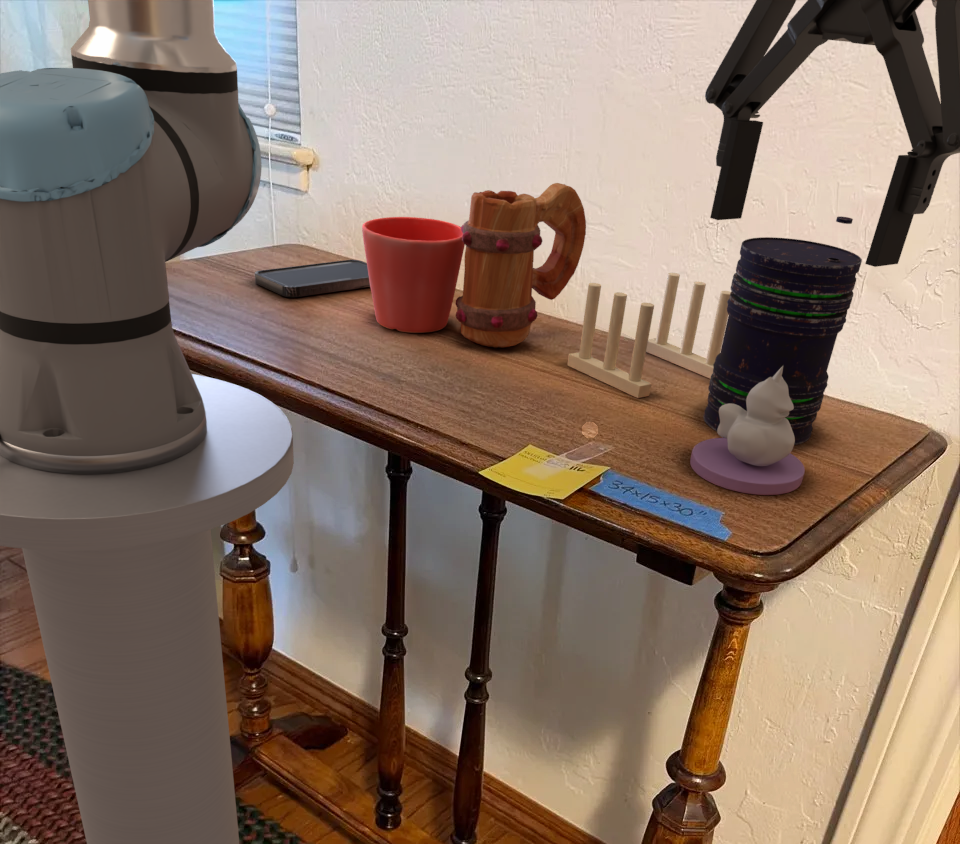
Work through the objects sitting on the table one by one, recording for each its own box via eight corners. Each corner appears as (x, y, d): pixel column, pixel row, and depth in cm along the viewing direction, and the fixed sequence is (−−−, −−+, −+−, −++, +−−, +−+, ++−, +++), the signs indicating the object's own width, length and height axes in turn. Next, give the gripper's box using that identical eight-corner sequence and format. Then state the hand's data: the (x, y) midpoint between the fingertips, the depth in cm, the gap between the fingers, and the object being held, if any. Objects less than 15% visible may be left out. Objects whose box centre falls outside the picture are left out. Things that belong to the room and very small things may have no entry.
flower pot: (381, 341, 98) (383, 240, 92) (348, 310, 106) (348, 215, 100) (476, 335, 102) (483, 239, 96) (437, 306, 110) (442, 215, 104)
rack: (637, 398, 90) (653, 309, 85) (567, 365, 96) (578, 281, 91) (725, 378, 97) (744, 295, 92) (654, 349, 103) (668, 269, 98)
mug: (475, 358, 96) (487, 195, 87) (434, 333, 101) (442, 178, 93) (590, 343, 103) (612, 191, 94) (546, 321, 108) (564, 176, 100)
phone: (250, 271, 111) (356, 258, 120) (251, 281, 112) (356, 267, 120) (288, 288, 106) (394, 273, 115) (288, 298, 107) (394, 283, 116)
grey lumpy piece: (768, 482, 74) (796, 381, 69) (694, 454, 77) (716, 356, 73) (799, 464, 77) (827, 366, 73) (727, 438, 81) (750, 343, 76)
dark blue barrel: (681, 419, 86) (726, 204, 76) (736, 396, 92) (784, 194, 82) (780, 456, 81) (843, 230, 71) (831, 429, 87) (895, 217, 77)
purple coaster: (753, 504, 73) (756, 493, 72) (667, 460, 78) (669, 449, 78) (824, 480, 77) (827, 469, 77) (738, 440, 83) (740, 429, 82)
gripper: (1149, -136, 50) (989, 281, 62) (771, -134, 66) (702, 200, 78) (1084, -159, 46) (927, 292, 58) (698, -151, 62) (637, 204, 74)
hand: (798, 240), depth 68 cm, fingers open, 13 cm apart
